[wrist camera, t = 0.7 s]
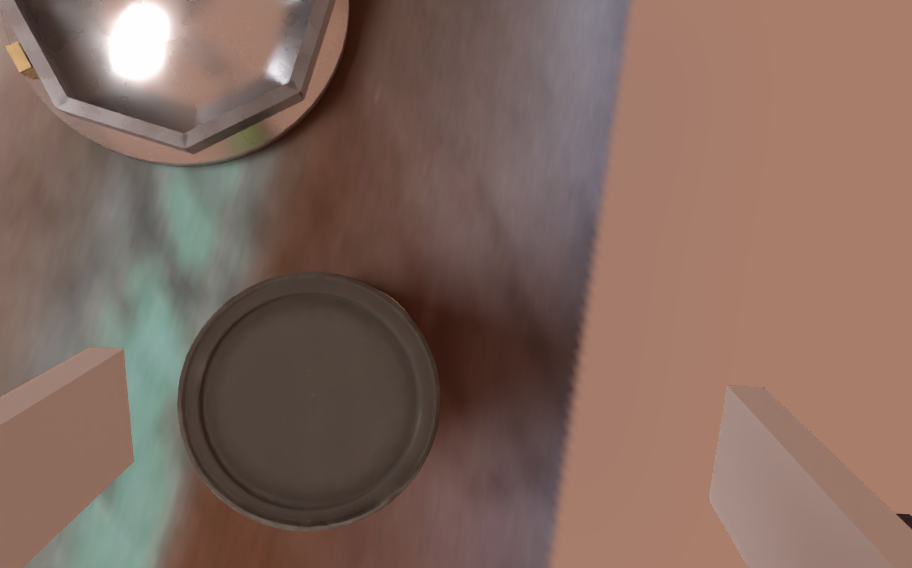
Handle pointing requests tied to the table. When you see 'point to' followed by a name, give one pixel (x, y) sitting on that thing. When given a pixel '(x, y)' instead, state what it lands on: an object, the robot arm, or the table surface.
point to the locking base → (178, 70)
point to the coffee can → (309, 401)
